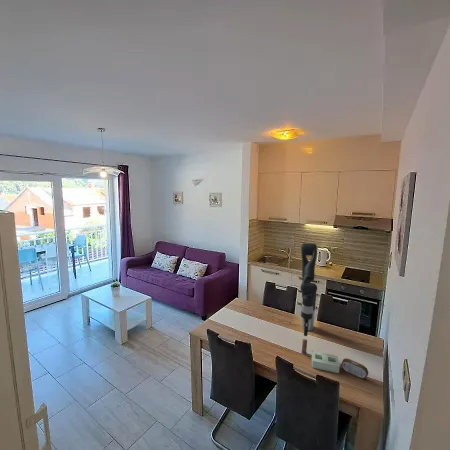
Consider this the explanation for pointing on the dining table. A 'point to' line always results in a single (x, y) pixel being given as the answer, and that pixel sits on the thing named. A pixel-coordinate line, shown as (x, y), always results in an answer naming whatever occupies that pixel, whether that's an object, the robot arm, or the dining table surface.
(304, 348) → the peg
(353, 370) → the tin
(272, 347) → the dining table surface
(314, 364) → the hole block
